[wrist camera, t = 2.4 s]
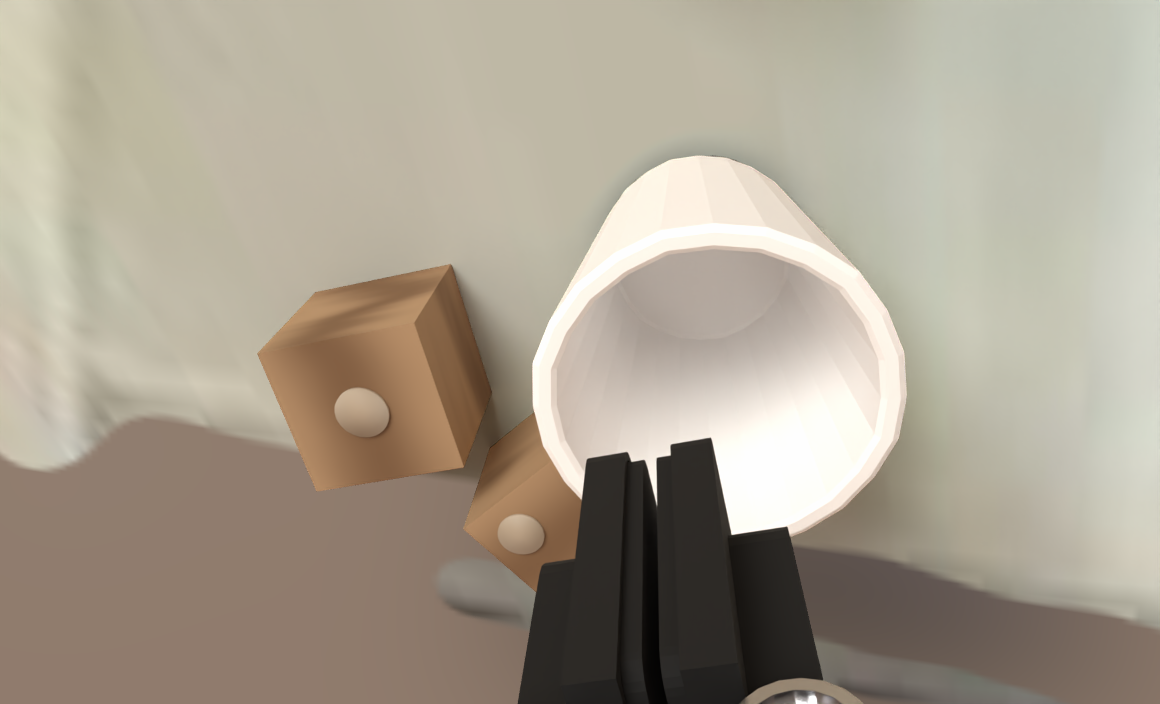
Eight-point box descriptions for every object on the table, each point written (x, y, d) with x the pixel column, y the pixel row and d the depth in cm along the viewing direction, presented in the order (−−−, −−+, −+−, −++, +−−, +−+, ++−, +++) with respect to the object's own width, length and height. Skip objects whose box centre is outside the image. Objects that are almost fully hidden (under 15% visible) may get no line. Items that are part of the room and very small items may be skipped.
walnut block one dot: (451, 263, 36) (413, 324, 31) (492, 391, 39) (463, 469, 33) (316, 291, 37) (255, 355, 32) (363, 414, 40) (315, 493, 34)
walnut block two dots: (680, 459, 39) (683, 547, 34) (582, 531, 42) (570, 624, 36) (587, 368, 38) (574, 444, 32) (490, 447, 40) (462, 531, 34)
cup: (863, 149, 33) (969, 271, 22) (787, 381, 37) (841, 584, 26) (599, 94, 33) (564, 186, 21) (553, 332, 37) (504, 514, 26)
